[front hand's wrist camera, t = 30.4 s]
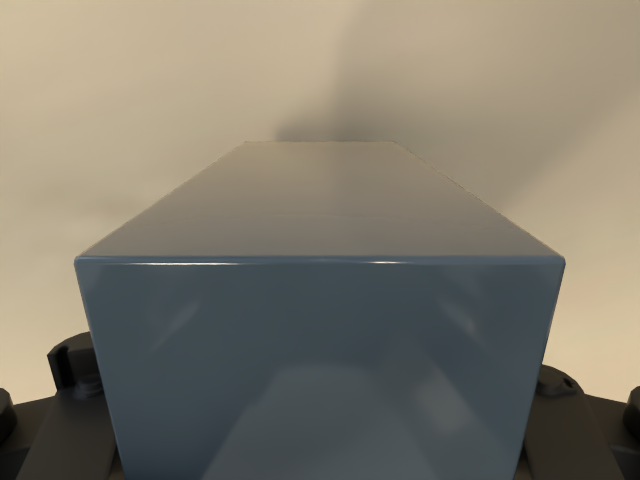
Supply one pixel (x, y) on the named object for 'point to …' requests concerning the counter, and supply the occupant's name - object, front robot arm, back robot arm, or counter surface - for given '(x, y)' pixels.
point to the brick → (319, 322)
